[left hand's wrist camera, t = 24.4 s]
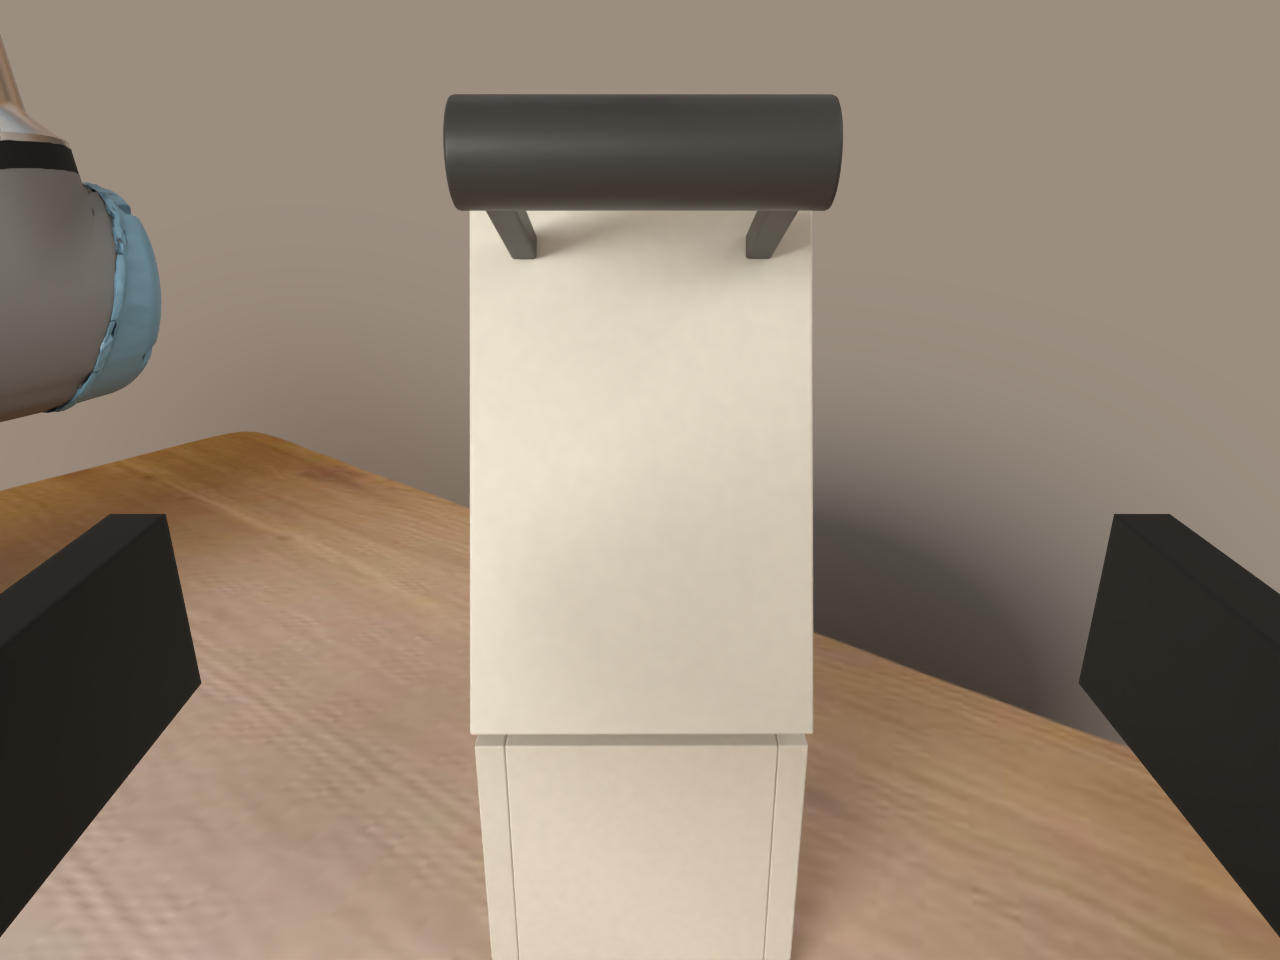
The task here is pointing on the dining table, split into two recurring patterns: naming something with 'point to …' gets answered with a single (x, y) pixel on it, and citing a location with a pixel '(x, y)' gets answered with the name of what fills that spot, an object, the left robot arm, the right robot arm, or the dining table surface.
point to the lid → (641, 407)
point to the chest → (641, 845)
